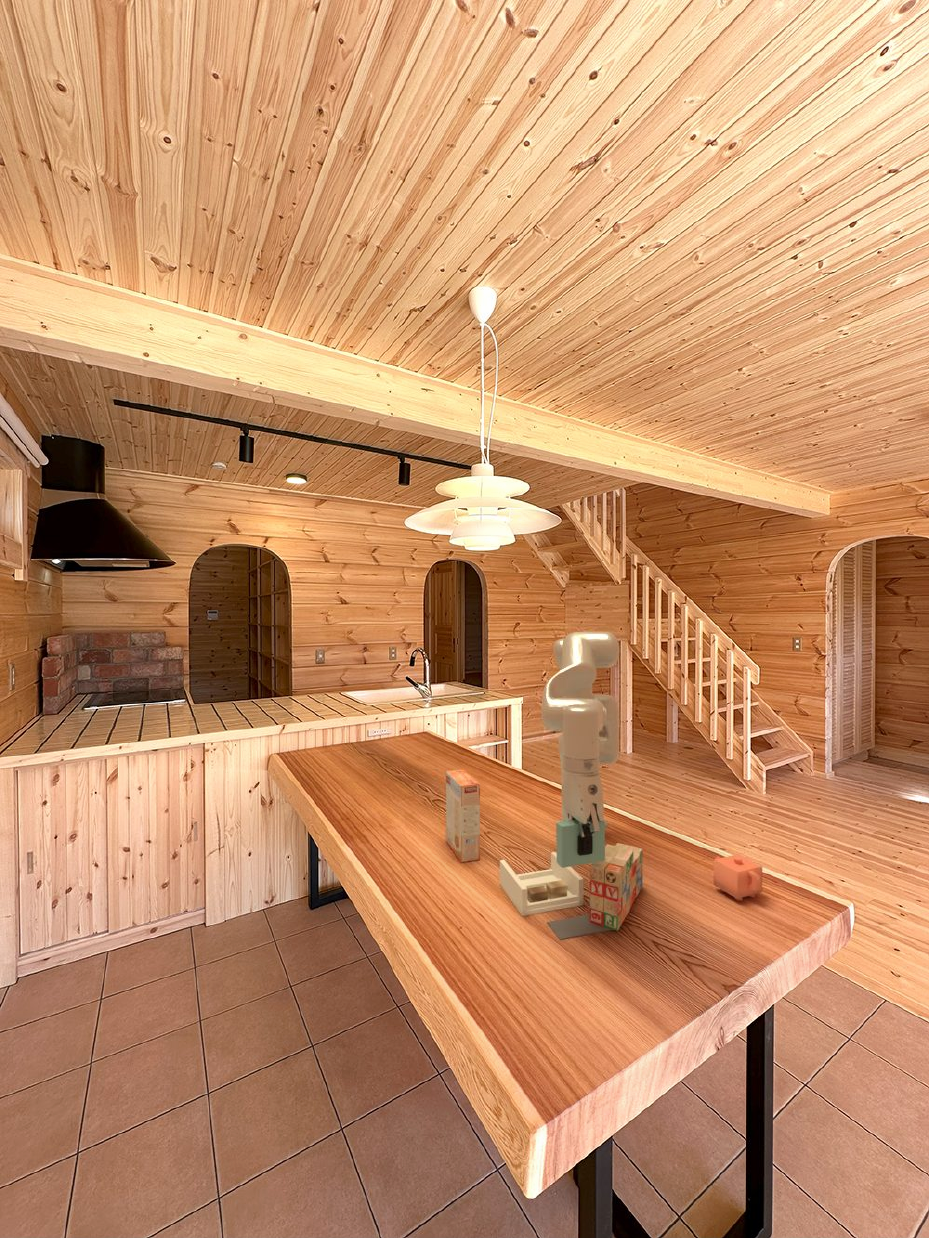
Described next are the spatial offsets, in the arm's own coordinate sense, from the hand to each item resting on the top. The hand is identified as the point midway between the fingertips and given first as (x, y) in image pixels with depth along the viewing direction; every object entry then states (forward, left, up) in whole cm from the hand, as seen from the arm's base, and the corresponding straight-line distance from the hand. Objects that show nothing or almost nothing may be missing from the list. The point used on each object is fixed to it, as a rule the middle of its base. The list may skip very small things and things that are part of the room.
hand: (581, 850), depth 109 cm
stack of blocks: (-12, -5, -16) cm, 21 cm away
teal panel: (0, 0, -2) cm, 2 cm away
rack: (+3, -14, -16) cm, 22 cm away
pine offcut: (0, -10, -15) cm, 18 cm away
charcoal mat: (0, 0, -16) cm, 16 cm away
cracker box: (+14, -41, -17) cm, 46 cm away
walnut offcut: (+5, -10, -15) cm, 19 cm away
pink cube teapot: (-42, -2, -17) cm, 45 cm away
